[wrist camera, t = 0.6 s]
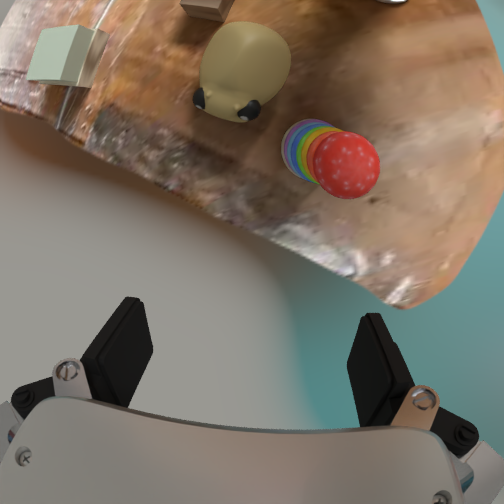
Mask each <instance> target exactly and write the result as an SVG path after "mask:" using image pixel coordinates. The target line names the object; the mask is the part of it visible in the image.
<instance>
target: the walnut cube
mask: <svg viewBox="0 0 504 504" xmlns="http://www.w3.org/2000/svg"><path fill="white" fill-rule="evenodd" d="M233 2H234V0H181V2H180V5H181V6H182V7H183V9H184V10H185V11H186V12H187V14H188V15H189V16H190V17H195V18H202V19H208V20H214V21H220V22H225V20H226V17H227V15H228V13H229V11H230V9H231V7H232V5H233Z"/></svg>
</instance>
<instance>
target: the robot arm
mask: <svg viewBox="0 0 504 504" xmlns="http://www.w3.org/2000/svg"><path fill="white" fill-rule="evenodd" d="M377 1H380V2H384V3H392V4H394V3H402V2H405V1H407V0H377ZM152 353H153V345H152V341H151V336H150V332H149V327H148V323H147V318H146V313H145V309H144V304H143V302H140V299H139V298H135V297H125V299H124V300H123V301H122V302H121V304H120V305H119V306H118V308H117V309H116V310H115V312H114V313H113V314H112V316H111V317H110V318H109V320H108V321H107V322H106V324H105V325H104V326H103V328H102V329H101V330H100V332H99V333H98V335H97V336H96V337H95V339H94V340H93V342H92V343H91V344H90V346H89V347H88V349H87V350H86V351H85V353H84V354H83V356H82V358H81V359H80V361H79V360H77V359H75V358H67V359H64V360H61V361H60V362H58V363H57V364H56V365H55V366H54V368H53V372H52V375H53V376H52V377H49V378H46V379H43V380H39V381H37V382H33V383H31V384H27V385H24V386H21V387H19V388H18V389H16V390H15V391H14V393H13V395H12V397H11V402H10V403H9V402H8V401H6V402H4V403H2V404H1V405H0V504H491V503H492V501H493V500H494V499H495V497H496V496H497V495H498V493H499V492H500V490H501V488H502V487H503V486H504V459H503V458H502V457H501V456H500V455H499V454H498V453H496V452H495V451H494V450H493V449H492V448H491V447H490V446H489V445H488V444H487V443H486V442H485V441H484V440H483V441H482V442H480V441H479V440H478V439H479V434H478V430H477V428H476V427H475V426H474V425H473V424H472V423H470V422H469V421H466V420H465V419H463V418H461V417H459V416H457V415H455V414H453V413H451V412H449V411H447V410H445V409H443V408H441V407H439V404H440V399H439V396H438V394H437V393H436V392H435V391H434V390H433V389H432V388H430V387H428V386H425V385H418V386H415V384H414V382H413V379H412V377H411V375H410V372H409V370H408V368H407V365H406V363H405V361H404V359H403V357H402V355H401V352H400V350H399V348H398V346H397V344H396V343H395V342H393V339H392V337H391V335H390V333H389V331H388V329H387V327H386V325H385V323H384V321H383V319H382V317H381V315H380V314H379V313H367V314H366V315H365V316H363V317H361V320H360V323H359V326H358V330H357V333H356V336H355V339H354V342H353V346H352V349H351V352H350V355H349V358H348V361H347V370H348V374H349V379H350V383H351V387H352V391H353V395H354V400H355V405H356V409H357V413H358V419H359V424H360V427H358V428H342V429H318V430H284V429H259V428H245V427H234V426H233V427H232V426H224V425H215V424H208V423H200V422H194V421H187V420H181V419H176V418H170V417H165V416H160V415H155V414H151V413H146V412H142V411H138V410H134V409H129V408H128V406H129V404H130V401H131V399H132V397H133V395H134V392H135V390H136V388H137V385H138V384H139V381H140V379H141V377H142V375H143V373H144V371H145V369H146V367H147V364H148V362H149V360H150V358H151V356H152Z"/></svg>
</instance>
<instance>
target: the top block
mask: <svg viewBox="0 0 504 504" xmlns="http://www.w3.org/2000/svg"><path fill="white" fill-rule="evenodd" d="M94 32H95V31H93V30H91V29H89V28H86V27H84V26H81V25H70V26H62V27H55V28H48V29H43V30H42V31H41V34H40V37H39V39H38V42H37V45H36V48H35V51H34V54H33V57H32V60H31V63H30V67H29V70H28V74H27V77H26V80H37V81H66V82H77V81H78V78H79V75H80V71H81V68H82V65H83V62H84V59H85V56H86V53H87V50H88V48H89V45H90V42H91V40H92V37H93V34H94Z"/></svg>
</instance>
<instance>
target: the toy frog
mask: <svg viewBox="0 0 504 504" xmlns="http://www.w3.org/2000/svg"><path fill="white" fill-rule="evenodd" d="M290 66H291V53H290V49H289V47H288V45H287V43H286V41H285V40H284V39H283V38H282V37H281V36H280V35H279V34H278V33H277V32H275V31H274V30H272V29H270V28H268V27H266V26H264V25H261V24H258V23H253V22H245V21H240V22H232V23H229V24H226V25H224V26H223V27H221V28H220V29H219V30H218V31H217V32H216V33H215V34H214V36H213V37H212V39H211V40H210V42H209V44H208V46H207V48H206V50H205V52H204V55H203V58H202V61H201V65H200V71H199V77H200V88H199V89H197V90H196V91H195V93H194V95H193V103H194V105H195V106H196V107H197V108H200V109H202V110H203V111H205V112H207V113H209V114H211V115H213V116H216V117H219V118H222V119H225V120H229V121H233V122H247V121H251V120H254V119H255V118H257V117H258V115H259V114H260V111H261V106H262V105H263V104H264V103H266V102H267V101H269V100H270V99H272V98H273V97H274V96H275V95H276V94H277V93H278V92H279V91H280V89H281V88H282V86H283V85H284V83H285V81H286V79H287V77H288V74H289V71H290Z"/></svg>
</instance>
